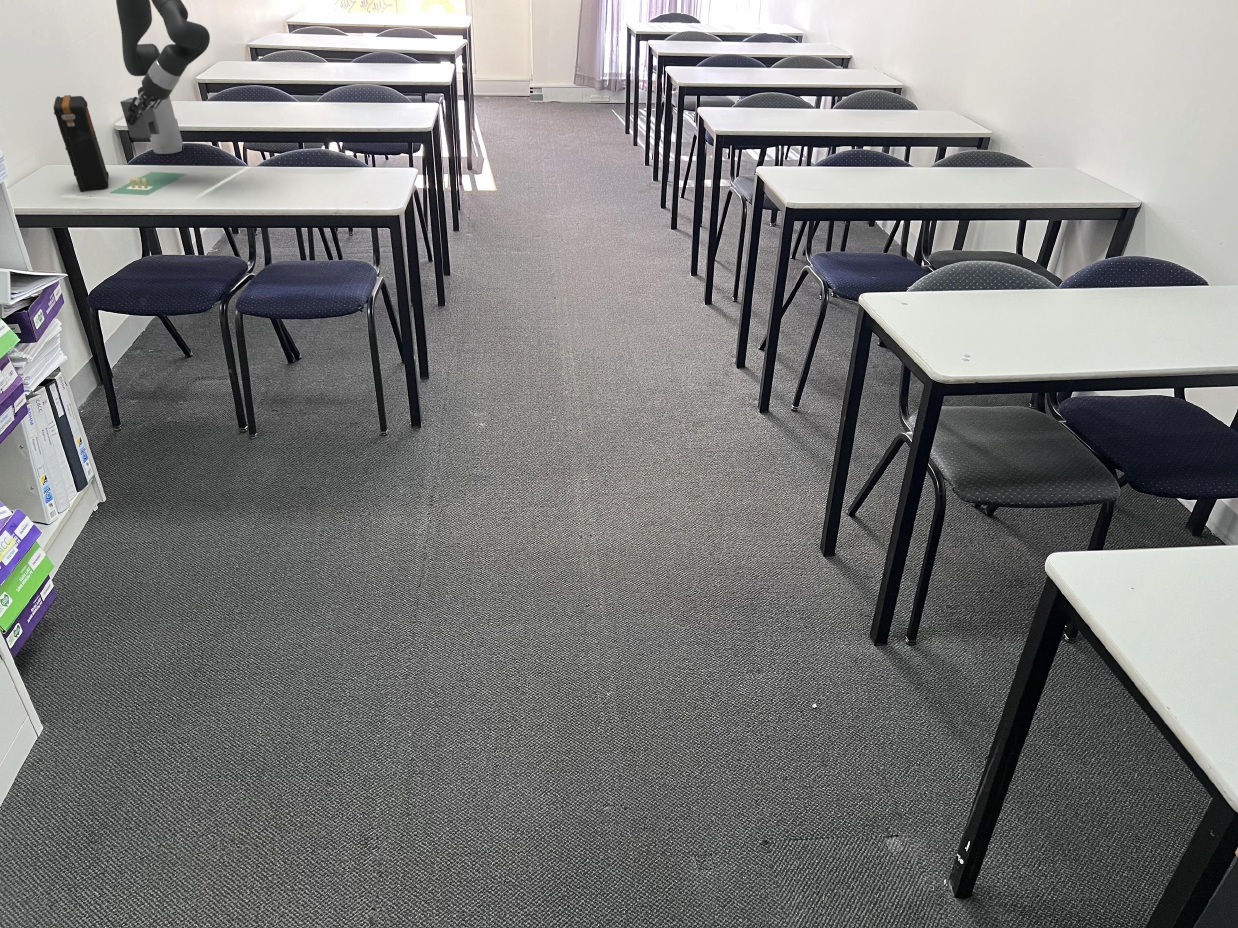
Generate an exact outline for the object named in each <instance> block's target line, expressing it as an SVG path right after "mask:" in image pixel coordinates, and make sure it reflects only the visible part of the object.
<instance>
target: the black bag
mask: <svg viewBox="0 0 1238 928" xmlns="http://www.w3.org/2000/svg"><path fill="white" fill-rule="evenodd" d="M88 107H89V106H88V101H87V100H86V99H85V98H84V96H82V95H75V96H73V95H71V94H66V95H63V96H62V97H61V96H60V95H59V96H56V97H55V100H54V104H53V107H52V108H53V115H55V118H56V121H57V125H58V128H59V131H60V134H61V137H62V140H63V142H64V145H65V151H66V153H67V155H68V158H69V161H70V162H69V163H70V164H71V167H72V171H73V176H74V177H75V179H76V183H77V187H78V189H79V191H80V192H81V193H84V192H92V191H94V192H95V191H103V190H107V189H108V188H109V177H110V176H109V175H110V174H109V172H108V171H107V167H106V165H105V162H104V157H103V154H102V151H101V147H100V145H99V141H98V137H97V135H96V131H95V127H94V125H93V121H92V118H91V115H90V111H89V109H88Z"/></svg>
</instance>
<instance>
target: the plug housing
mask: <svg viewBox="0 0 1238 928" xmlns="http://www.w3.org/2000/svg"><path fill="white" fill-rule="evenodd" d="M133 98H134V97H129V98H126V99H123V100H120V101H119V102H120V106H121V110H122V112H123V116H124V120H125V123H126V127H127V130H128V131H127V132H128V134H129V138H137V139H138V138H140V139H141V138H142V139H150V138H151V137H152V136H151V134H159V129H158V126H157V122H156V118H155V115H154V111H153V108H151V106H150V107H149V108H148V110H147V111H146V112H142V113H141V115H140V116H139V117H138V119H137V120H136V122H135V123H134V125H130V124H129V123H128V122H127V121H126V118H127V117H128V115H129V114H130V112H128V111H127V110H128V108H129V106H130V104H131V102H132V100H133ZM142 107H143V108H145V107H144V106H142Z"/></svg>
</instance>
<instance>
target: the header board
mask: <svg viewBox="0 0 1238 928" xmlns="http://www.w3.org/2000/svg"><path fill="white" fill-rule="evenodd" d="M186 175H187V173H179V172H165V171H164V172H161V171H160V172H159V171H150V172H148V173H145V174H144V175H142V176H140V177H135V179H134V177H133V176H130V177H128V179H129V182H127V183H126V184H124V185H122V186H121V187H118V188H116V189H114V190H113V191H110V192H109V194H118V195H137V196H138V195H139V196H149V195H151V194H152V193H154V192H156V191H158V190H160V189H162V188H164V187H166V186H168V185H170V184H172V183H173V182H175V181H176V180H179V179H181V178H182V177H184V176H186Z"/></svg>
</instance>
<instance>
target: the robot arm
mask: <svg viewBox="0 0 1238 928" xmlns="http://www.w3.org/2000/svg"><path fill="white" fill-rule="evenodd" d="M115 3H116V9H117V15H118V21H119V25H120V27H119V28H120V31H121V46H122V47H121V50H122V58H123V63H124V67H125V69H126V71H127V72H128V74H129V75H131V76H133V77H143V78H142V80H141V86H140V87H138V89H137V96H138V97H137V96H134V97H132V98H133V100H132V102H131V104H130V106H129V108H128V110H127V111H128V112H130V114H129V115H128V117H127V118H126V120H125V122H126V121H127V122H128V123H129V124H130V125H134V123H135V122H136V120H137V119H138V117H139V116H140V115H141V113H142V112H146V111H147V110H148V108H149V107H150V106H151V108H153V111H154V115H155V118H156V122H157V126H158V129H159V134H151V136H152V137H151V138H149V139H150V144H151V146H152V150H153V153H154V154H159V155H163V154H164V155H169V154H175V153H179V152H182V151H183V150H182V144H183V145H184V142H183V138H182V135H181V131H180V127H179V122H178V120H177V118H176V116H175V113H174V112H175V111H174V108H173V104H172V99H171V97H170V95H171V94H172V93H173V91H174V90H175V88H176V86H177V84H178V83H179V82H180V79H181V77H182V75H183V73H184V72H185V70H186V69H187V67H188V66H189V65H190V64H191V63H192V62H194V61H195V60H197V59H198V58H199V57H200V56H201V55H203V53H205V52H206V50H207V49H208V48H209V46H210V42H211V41H210V40H211V36H210V32H209V30H208V28H206V27H205V26H204V25H202V24H200V23H195V22H193V21H189V20H188V18H189V12H188V9H187V8H186V7H187V6H185V5H184V3H183V2H182V0H115ZM151 3H152V4H153V6H154V8H155V9H156V10H157V13H158V14H159V15H160V16H161V18H162V20H163V23H164V27H165V29H166V32H167V34H168V35H167V36H168V37H169V39H170V41H172V42H173V43H171V44H166V45H165V46H164V47H163V48H162V50H161V52H160V50H159V48H158V47H157V46H156V44H154V43H141V44H139V43H140V41H141V39H143V37H144V36H145V35H146V33H147V32H148V30H149V29H150V28H151V26H152V21H153V14H152V4H151ZM142 106H144V107H145V108H143V107H142Z"/></svg>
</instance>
